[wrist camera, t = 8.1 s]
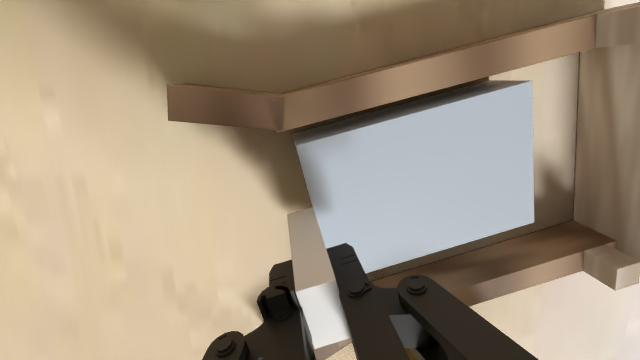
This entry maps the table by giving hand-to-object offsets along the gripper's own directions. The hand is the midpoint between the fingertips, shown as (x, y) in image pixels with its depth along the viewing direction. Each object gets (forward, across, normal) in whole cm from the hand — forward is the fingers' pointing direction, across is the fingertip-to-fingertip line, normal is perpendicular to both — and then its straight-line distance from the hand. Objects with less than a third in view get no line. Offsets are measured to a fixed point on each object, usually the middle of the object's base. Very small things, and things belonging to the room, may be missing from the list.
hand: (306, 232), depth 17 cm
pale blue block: (+2, +7, +1) cm, 7 cm away
